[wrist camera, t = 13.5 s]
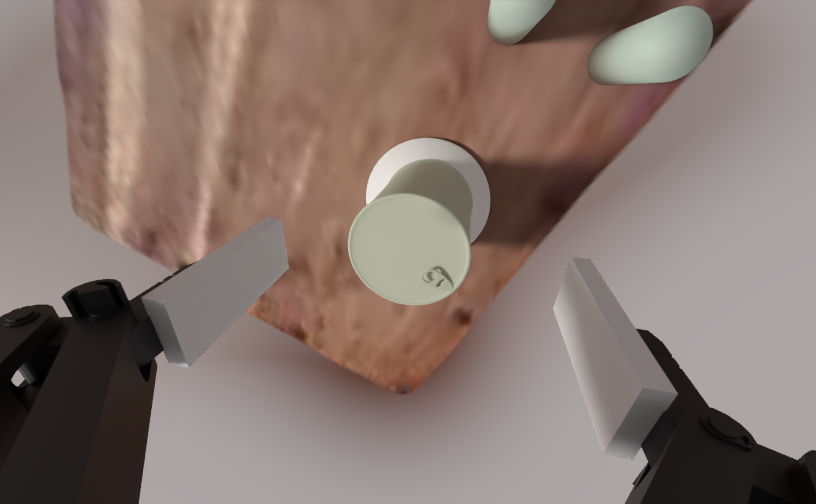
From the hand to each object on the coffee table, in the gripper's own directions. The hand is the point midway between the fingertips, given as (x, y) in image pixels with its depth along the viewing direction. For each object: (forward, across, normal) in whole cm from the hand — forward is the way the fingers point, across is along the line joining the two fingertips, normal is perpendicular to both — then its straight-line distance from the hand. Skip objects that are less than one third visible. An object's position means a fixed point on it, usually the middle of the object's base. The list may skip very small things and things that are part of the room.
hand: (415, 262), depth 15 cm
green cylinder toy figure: (+19, -2, -4) cm, 20 cm away
